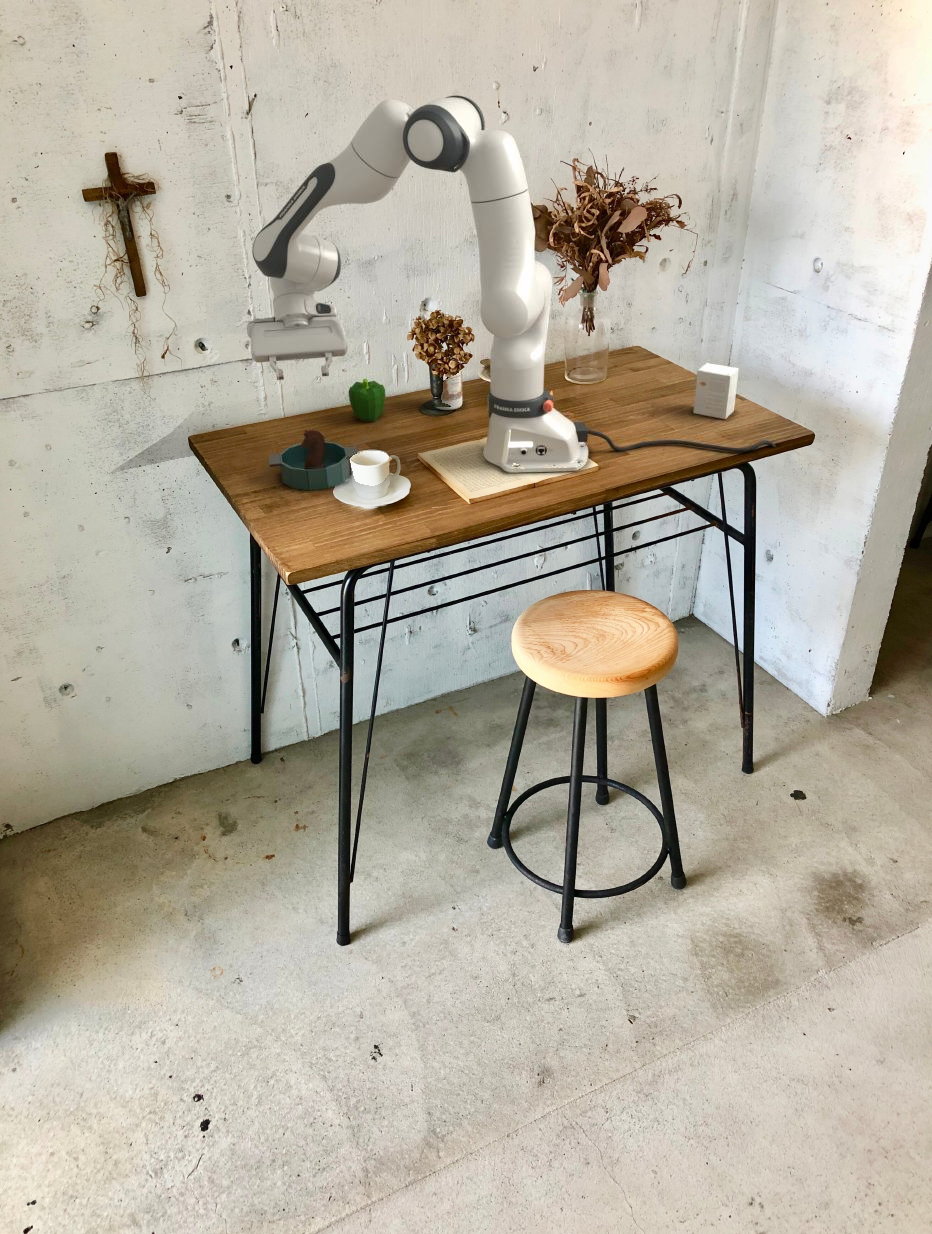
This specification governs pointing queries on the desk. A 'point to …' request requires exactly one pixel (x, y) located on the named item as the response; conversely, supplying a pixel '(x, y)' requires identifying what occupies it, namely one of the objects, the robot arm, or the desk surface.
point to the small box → (715, 390)
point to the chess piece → (314, 449)
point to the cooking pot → (314, 478)
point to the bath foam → (452, 392)
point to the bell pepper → (367, 400)
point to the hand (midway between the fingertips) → (303, 377)
